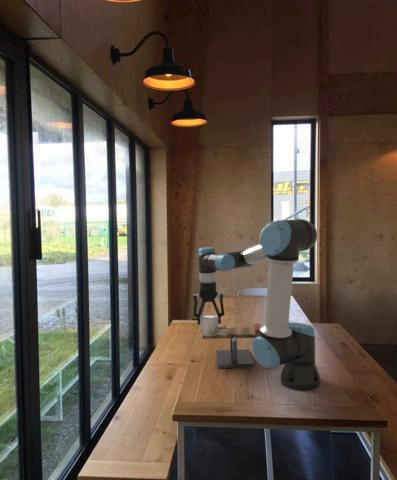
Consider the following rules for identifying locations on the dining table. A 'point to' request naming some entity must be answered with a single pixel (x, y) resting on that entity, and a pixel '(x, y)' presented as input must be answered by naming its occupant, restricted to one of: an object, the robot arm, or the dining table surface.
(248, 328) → the beam
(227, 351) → the stand
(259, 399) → the dining table surface
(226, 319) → the dining table surface
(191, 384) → the dining table surface
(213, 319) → the shot glass
